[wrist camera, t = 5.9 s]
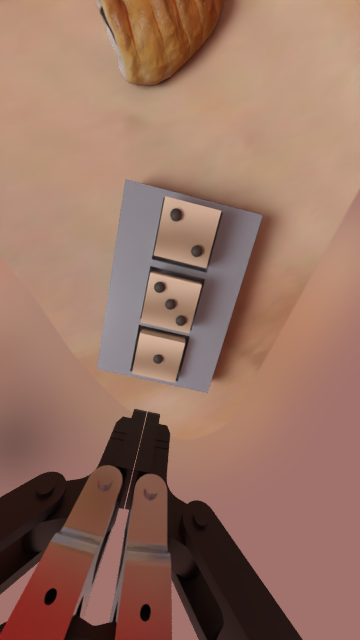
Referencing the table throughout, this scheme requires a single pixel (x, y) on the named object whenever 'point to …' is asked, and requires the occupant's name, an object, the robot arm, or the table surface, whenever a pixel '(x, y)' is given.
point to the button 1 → (158, 354)
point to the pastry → (157, 34)
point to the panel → (139, 261)
